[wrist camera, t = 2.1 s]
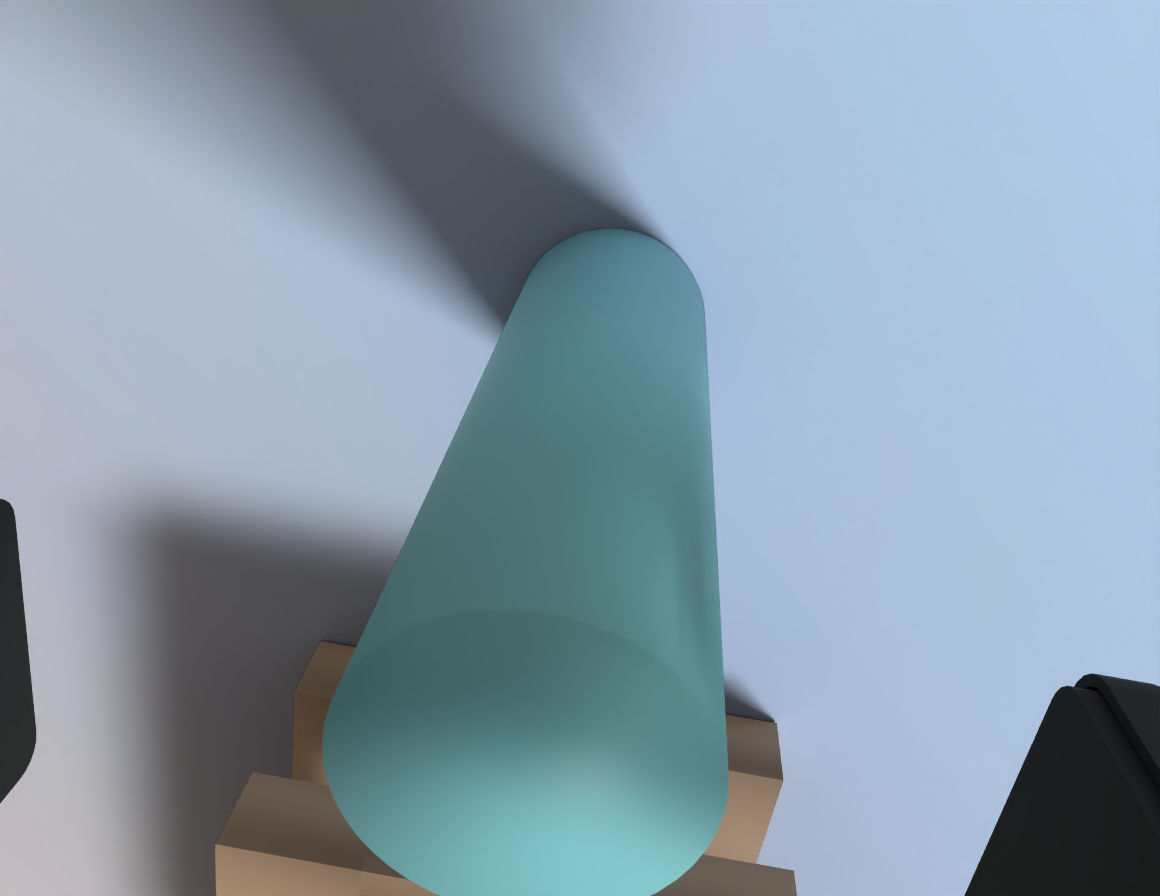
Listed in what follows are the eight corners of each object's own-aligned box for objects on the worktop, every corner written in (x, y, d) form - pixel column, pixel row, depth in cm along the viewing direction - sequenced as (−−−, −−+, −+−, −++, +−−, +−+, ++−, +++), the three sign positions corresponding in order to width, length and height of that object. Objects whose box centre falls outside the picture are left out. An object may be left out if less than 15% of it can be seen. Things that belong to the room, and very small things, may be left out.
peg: (530, 212, 16) (330, 575, 7) (722, 245, 16) (772, 653, 7) (507, 388, 17) (316, 879, 8) (684, 419, 17) (683, 948, 8)
